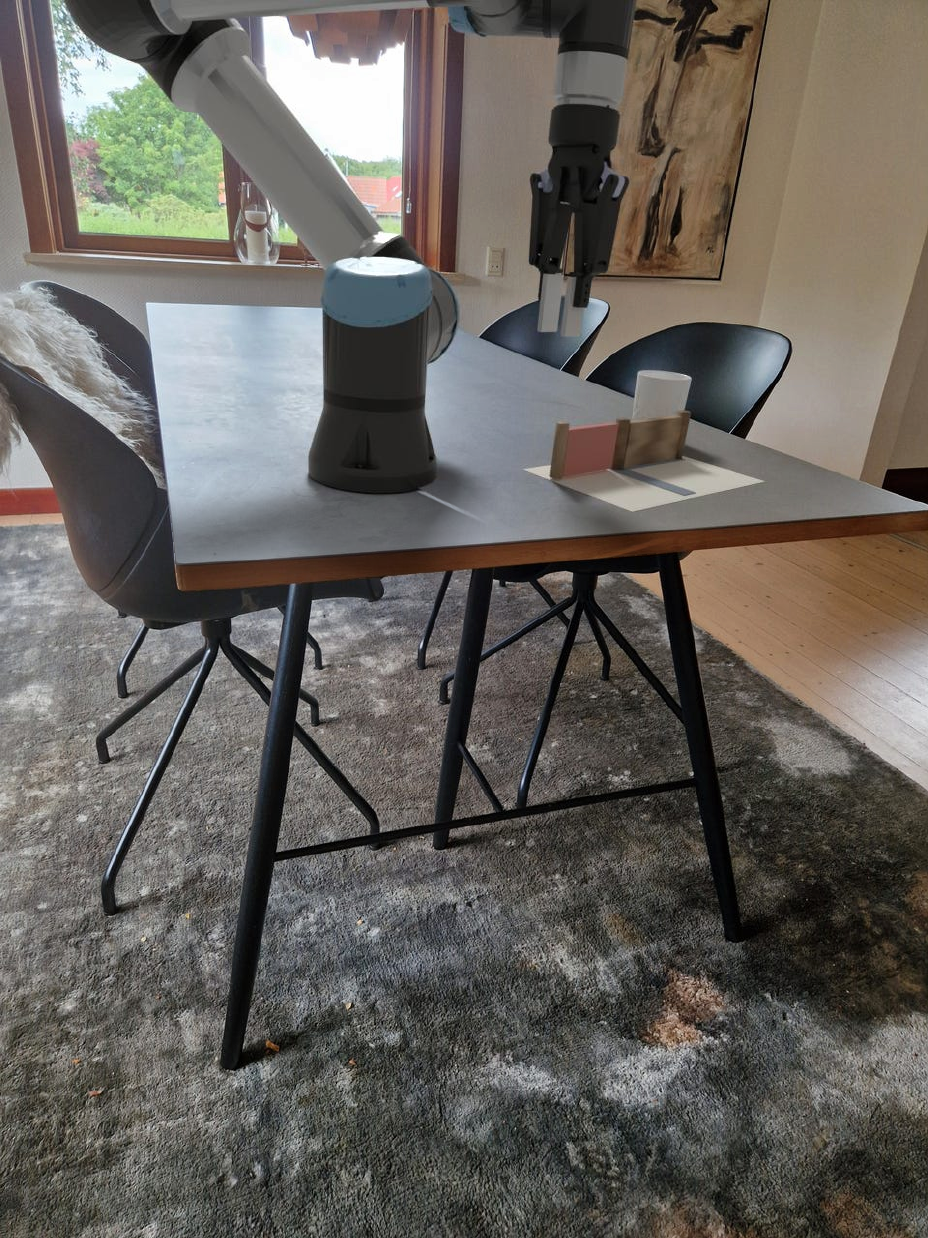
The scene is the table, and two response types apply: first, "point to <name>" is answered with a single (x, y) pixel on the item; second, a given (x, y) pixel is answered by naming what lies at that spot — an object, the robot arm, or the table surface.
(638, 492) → the board
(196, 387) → the table surface
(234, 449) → the table surface
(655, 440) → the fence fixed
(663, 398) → the white cup
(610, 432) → the fence gate
